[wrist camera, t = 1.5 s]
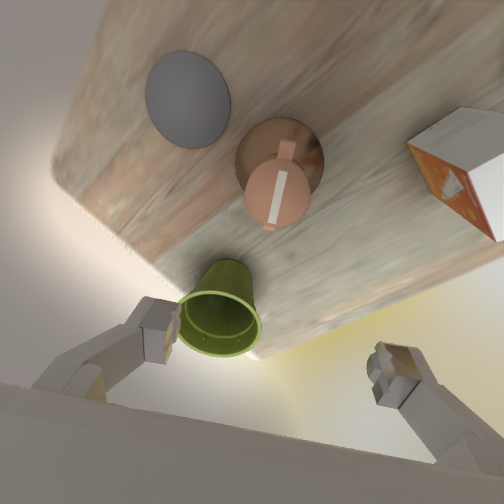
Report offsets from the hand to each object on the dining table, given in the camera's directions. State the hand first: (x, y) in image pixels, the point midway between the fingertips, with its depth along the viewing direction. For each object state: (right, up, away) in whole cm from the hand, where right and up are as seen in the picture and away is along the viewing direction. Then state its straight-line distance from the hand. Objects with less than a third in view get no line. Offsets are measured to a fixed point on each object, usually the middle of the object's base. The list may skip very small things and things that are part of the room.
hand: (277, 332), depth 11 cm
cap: (+2, +10, +17) cm, 20 cm away
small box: (+22, +15, +22) cm, 34 cm away
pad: (-8, +21, +21) cm, 31 cm away
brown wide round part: (+2, +14, +24) cm, 28 cm away
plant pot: (-5, -1, +34) cm, 35 cm away
